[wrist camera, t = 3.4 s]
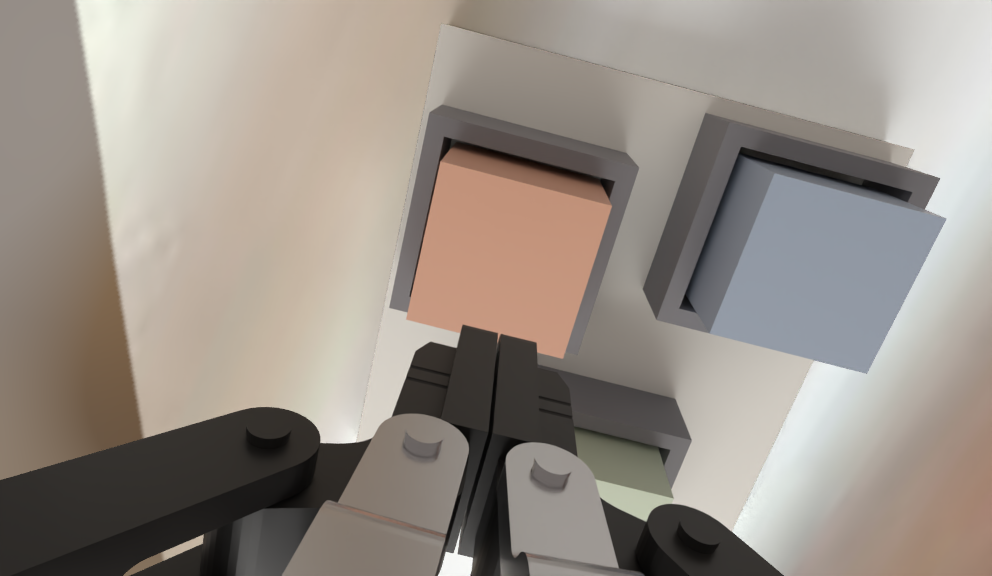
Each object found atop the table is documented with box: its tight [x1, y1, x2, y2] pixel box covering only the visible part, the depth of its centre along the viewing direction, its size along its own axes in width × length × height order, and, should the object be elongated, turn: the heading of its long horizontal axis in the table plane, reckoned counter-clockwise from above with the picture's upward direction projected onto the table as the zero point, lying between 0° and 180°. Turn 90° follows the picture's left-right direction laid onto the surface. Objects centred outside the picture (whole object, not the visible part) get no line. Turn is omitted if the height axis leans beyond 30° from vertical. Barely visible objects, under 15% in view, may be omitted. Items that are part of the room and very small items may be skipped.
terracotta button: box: [406, 142, 612, 359], centre depth 21 cm, size 5×5×4 cm
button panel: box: [356, 23, 940, 532], centre depth 25 cm, size 17×19×5 cm
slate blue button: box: [685, 153, 946, 374], centre depth 21 cm, size 5×5×4 cm
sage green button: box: [574, 426, 674, 521], centre depth 24 cm, size 5×5×4 cm
